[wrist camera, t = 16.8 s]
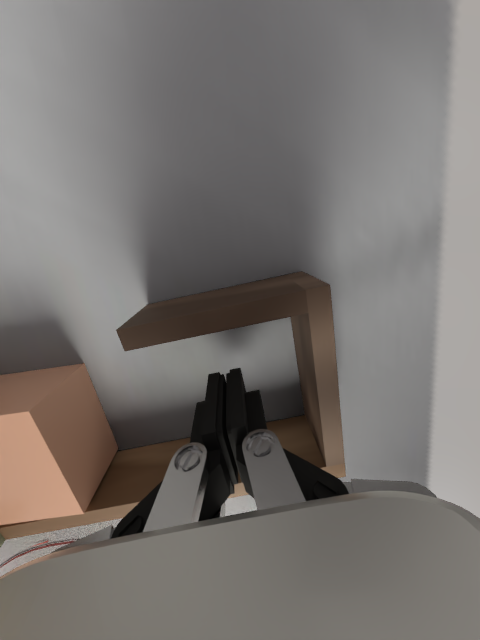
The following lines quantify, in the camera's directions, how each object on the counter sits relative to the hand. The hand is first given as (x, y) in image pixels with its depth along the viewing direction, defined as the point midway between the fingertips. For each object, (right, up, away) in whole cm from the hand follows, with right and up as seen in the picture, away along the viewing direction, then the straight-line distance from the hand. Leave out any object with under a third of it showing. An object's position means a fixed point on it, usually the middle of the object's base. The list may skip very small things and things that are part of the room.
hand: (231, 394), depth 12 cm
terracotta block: (-12, -3, +4) cm, 13 cm away
